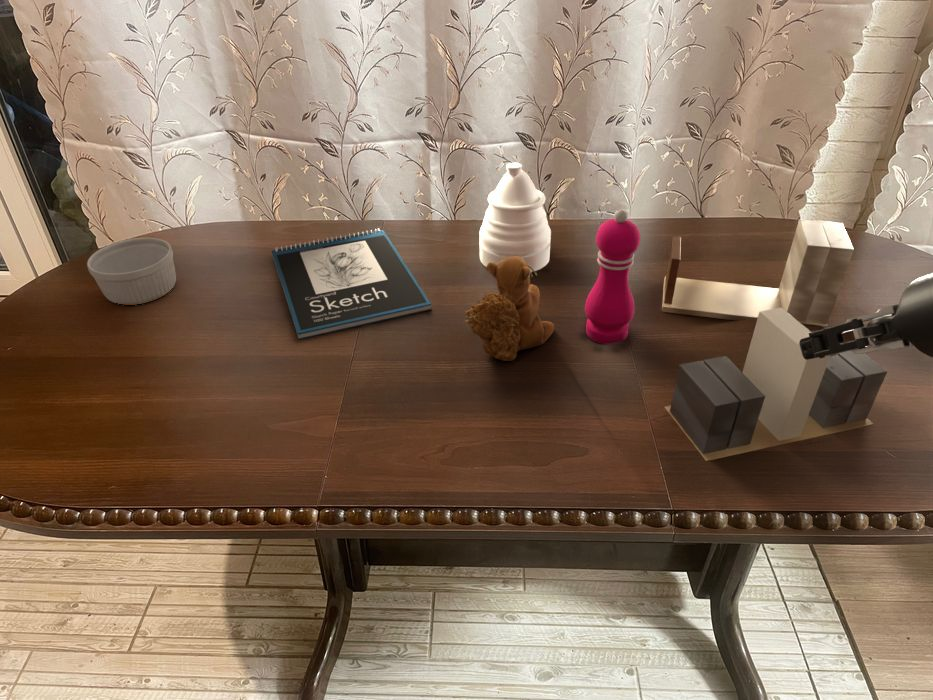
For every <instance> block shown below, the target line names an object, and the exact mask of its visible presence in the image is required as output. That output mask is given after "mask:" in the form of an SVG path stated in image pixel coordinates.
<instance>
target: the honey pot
mask: <svg viewBox="0 0 933 700" xmlns="http://www.w3.org/2000/svg"><path fill="white" fill-rule="evenodd" d="M505 168H506V173H505V174H504V175H503V176H502V178H501V179H500V181H499V183H498V184H497V186H496V188H495V189H494V190H493V191H491V192H490V193H489V194H488V197H487V202H488V204H489V205H488V207H487V209H486V210H485V213H484V218H483V221H482V225H481V226H480V229H479V241H478V243H479V248H478V249H479V260H480V263H481V264H482V265H483V266H484V267H486V266H487V264H488V263H490V262H492V263H494V264H498V263H499V262H500V261H502V260H504V259H506V258H509V257H512V256H518V257H521V258H522V259H523V260H524V261H525V262H526V264H527V265H528V266H530V267H531V268H532V269H533V270H534V271H535V272H538V271H539V270H542V269H543V268H544V267H546V266H547V265H548V264H549V262H550V257H551V239H552V237H551V236H552V229H551V228H550V225H549V221H548V219H547V213H546V211H545V209H544V207H543V206H544V204H545V203H546V199H547V198H546V196H545V193H544V192H542V191H541V190H539V189H537V188H536V186H535V184H534V182H533V180H532V178H531V177H530V176H529V175H528V173H527V172H526V171H525V170H523V169H522V168H523V164H521V163H520V162H507V163H506V164H505ZM486 268H487V267H486ZM532 269H531V272H532V273H534V272H533V270H532Z"/></svg>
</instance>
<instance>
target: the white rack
mask: <svg viewBox="0 0 933 700" xmlns="http://www.w3.org/2000/svg"><path fill="white" fill-rule="evenodd" d="M797 223H798V224H797V226H796V229H795V232H794V236H793V239H792V243H791V246H790V250H789V253H788V257H787V260H786V263H785V266H784V269H783V272H782V273H783V274H782V277H781V280H780V283H779V286H778V288H777V287H774V288H773V287H766V286H756V285H748V284H741V283H740V284H739V283H731V282H730V283H729V282H721V281H720V282H719V281H713V280H712V281H711V280H702V279H693V278H685V277H678V273H679V267H680V263H681V251H682V250H681V248H682V247H681V245H682V242H681V241H682V236H677V235H676V236H675V235H673V236H672V240H671V247H670V252H669V257H668V263H667V269H666V274H665V276H664V278H663V283H662V285H663V287H662V299H661V300H662V301H661V312H662V313H670V314H678V315H687V316H695V317H704V318H711V319H719V320H728V321H735V322H739V321H744V320H751V319H758V315H759V312H760V311H766V310H771V309H777V308H782V309H783V310H785V311H786V312H787V313H788V314H790V315H791V316H792V317H793V318H795V319H796V320H797V321H798V322H799V323H801V324H803V325H811V326H812V325H814V326H821V327H823V329H825V328H829V327H828V323H829V320H830V318H831V315H832V312H833V310H834V306H835V304H836V301H837V298H838V295H839V292H840V290H841V287H842V284H843V281H844V279H845V276H846V274H847V270H848V268H849V264H850V262H851V259H852V256H853V254H854V251H855V249H854V246H853V244H852V242H851V239H850V237H849V235H848V232H847V231H846V229H845V226H844V223H843V222H839V221H827V220H815V219H803V218H799V219H798V222H797Z"/></svg>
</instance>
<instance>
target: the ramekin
mask: <svg viewBox="0 0 933 700" xmlns="http://www.w3.org/2000/svg"><path fill="white" fill-rule="evenodd" d="M86 266H87V270H88V273H89V275H91V276H92V277H93V279H94V280H95V282H96V284H97V286H98V287H99V289H100V291H101V293H102V294H103V296H104V297H105V298H106V299H107V300H108V301H110V302H111V303H114V304H116V303H118V304H117V305H119V304H139V303H143V302H147V301H151V300H154V299H156V298H159V297H160V296H163V295H164V294H166V293H167V292H169V291H170V290H171V289H172V288H174V286H175V285H176V283H177V274H176V273H177V272H176V267H175V263H174V251H173V249H172V246H171V244H170V243H169V242H168V241H166V240H164V239H161V238H158V237H135V238H134V237H133V238H128V239H124V240H121V241H120V240H119V241H116V242H112V243H110V244H108V245H106V246H104V247H102V248H100V249H98V250H97V251H95V252H94V253H92V254H91V255H90V257H88V259H87V261H86ZM172 290H173V289H172ZM172 290H171V291H172ZM171 291H170V292H171ZM170 292H169V293H170Z"/></svg>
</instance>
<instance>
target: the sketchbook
mask: <svg viewBox="0 0 933 700" xmlns="http://www.w3.org/2000/svg"><path fill="white" fill-rule="evenodd" d="M303 243H304V244H302V242H299V245H297V243H294V246H293V244H289V245H290V246H289V247H288V245H287V244H286V245H285V247H283V245H281V246H280V248H279V247H278V246H274V249H273V250H272V249H271V255H272V259H273V261H274V265H275V268H276V272H277V274H278V278H279V281H280V284H281V286H282V290H283V293H284V296H285V300H286V303H287V306H288V309H289V313H290V316H291V319H292V322H293V325H294V329H295V331H296V335H297V338H298V340H302V339H306V338H313V337H316V336H320V335H324V334H330V333H333V332H339V331H343V330H346V329H352V328H357V327H360V326H366V325H369V324H374V323H378V322H382V321H386V320H387V321H388V320H391V319H396V318H400V317H404V316H405V317H406V316H410V315H413V314H419V313H423V312H428V311H432V309H433V308H432V303H431V301H430V299H429V298H428V297H427V295H426V293H425V292H424V290H423V289H422V287H421V286H420V284H419V282H418V281H417V280H416V278H415V276H414V275H413V273H412V272H411V270H410V269H409V267H408V265H407V264H406V262H405V261H404V260H403V258H402V257H401V255H400V253H399V252H398V250H397V249H396V247H395V246H394V244H393V243H392V241H391V239H390V238H389V236H388V235H387V233H386V231H385V230H384V229H380V227H378V228H377V229H376V228H374V231H373V230H372V229H370V232H369V231H368V230H366V232H364V231H362V230H361V233H360V232H359V231H357V234H355V232H353V235H351V233H348V236H347V235H346V234H344V236H343V237H342V234H340V235H339V237H338V235H335V238H334V237H333V236H331V237H330V239H329V237H326V240H325V239H324V238H322V240H320V238H319V239H317V242H316V241H315V239H313V240H312V242H311V240H308V243H306V241H303Z"/></svg>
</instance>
